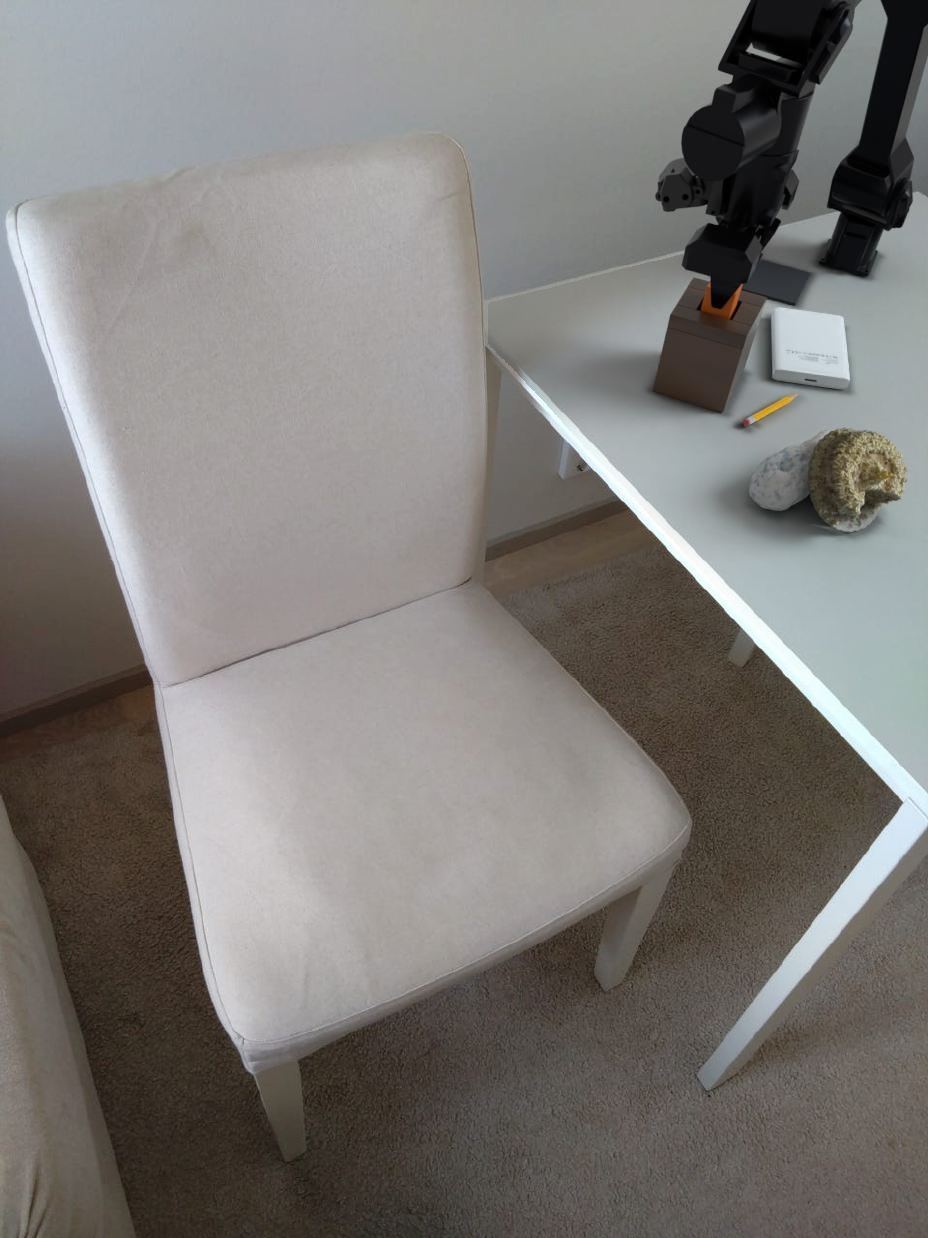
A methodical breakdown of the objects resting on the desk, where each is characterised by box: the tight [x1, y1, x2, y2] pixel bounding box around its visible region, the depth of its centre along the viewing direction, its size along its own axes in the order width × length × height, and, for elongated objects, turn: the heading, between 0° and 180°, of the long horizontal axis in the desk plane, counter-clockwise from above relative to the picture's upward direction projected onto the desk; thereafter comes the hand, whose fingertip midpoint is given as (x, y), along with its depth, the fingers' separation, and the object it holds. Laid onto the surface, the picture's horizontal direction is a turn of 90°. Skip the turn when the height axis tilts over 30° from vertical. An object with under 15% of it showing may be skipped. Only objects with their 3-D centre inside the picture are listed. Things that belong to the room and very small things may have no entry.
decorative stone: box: [748, 429, 836, 512], centre depth 89 cm, size 13×7×5 cm, turn 124°
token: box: [701, 283, 743, 320], centre depth 93 cm, size 3×3×4 cm
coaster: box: [741, 258, 811, 306], centre depth 114 cm, size 8×8×1 cm
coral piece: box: [807, 427, 908, 533], centre depth 84 cm, size 10×10×5 cm
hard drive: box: [770, 306, 851, 390], centre depth 104 cm, size 2×8×12 cm
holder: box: [652, 276, 768, 414], centre depth 97 cm, size 8×8×10 cm
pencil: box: [742, 393, 798, 428], centre depth 98 cm, size 1×9×1 cm, turn 128°
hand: (721, 299), depth 93 cm, fingers closed on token, 3 cm apart
